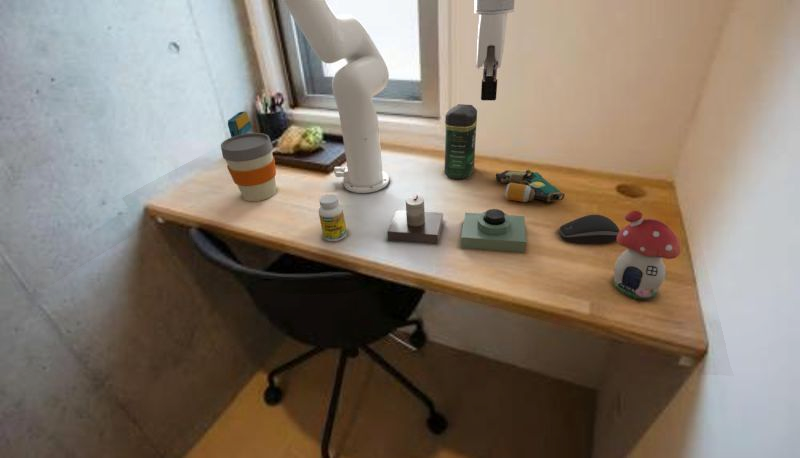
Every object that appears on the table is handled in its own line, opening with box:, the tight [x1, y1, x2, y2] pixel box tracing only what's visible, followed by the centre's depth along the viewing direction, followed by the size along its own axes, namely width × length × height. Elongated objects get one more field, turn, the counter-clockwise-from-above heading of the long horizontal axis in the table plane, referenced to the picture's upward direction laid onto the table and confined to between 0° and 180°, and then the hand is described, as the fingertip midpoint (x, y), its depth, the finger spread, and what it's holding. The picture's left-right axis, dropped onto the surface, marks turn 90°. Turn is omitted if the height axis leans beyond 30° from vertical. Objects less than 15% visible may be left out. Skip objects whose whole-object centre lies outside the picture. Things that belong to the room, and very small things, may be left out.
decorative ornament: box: [613, 210, 681, 301], centre depth 70 cm, size 9×6×15 cm
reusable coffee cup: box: [220, 132, 277, 202], centre depth 109 cm, size 13×13×15 cm
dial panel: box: [386, 209, 444, 245], centre depth 93 cm, size 11×9×2 cm
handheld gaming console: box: [227, 111, 255, 138], centre depth 127 cm, size 10×4×15 cm, turn 174°
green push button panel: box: [460, 211, 527, 253], centre depth 89 cm, size 13×10×4 cm
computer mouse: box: [559, 214, 621, 245], centre depth 87 cm, size 7×12×4 cm, turn 88°
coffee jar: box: [444, 103, 478, 180], centre depth 112 cm, size 10×8×19 cm
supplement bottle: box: [318, 193, 348, 242], centre depth 91 cm, size 5×5×10 cm
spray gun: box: [495, 168, 565, 203], centre depth 105 cm, size 4×17×15 cm
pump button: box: [484, 208, 505, 225], centre depth 87 cm, size 4×4×2 cm
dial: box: [405, 194, 426, 226], centre depth 90 cm, size 4×4×6 cm
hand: (488, 99), depth 90 cm, fingers closed
